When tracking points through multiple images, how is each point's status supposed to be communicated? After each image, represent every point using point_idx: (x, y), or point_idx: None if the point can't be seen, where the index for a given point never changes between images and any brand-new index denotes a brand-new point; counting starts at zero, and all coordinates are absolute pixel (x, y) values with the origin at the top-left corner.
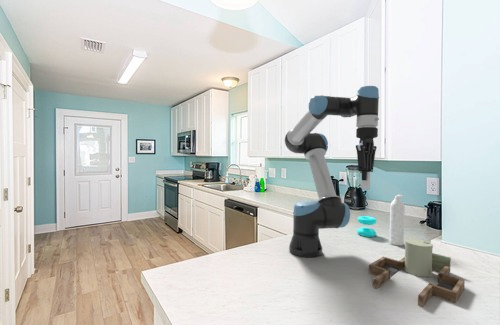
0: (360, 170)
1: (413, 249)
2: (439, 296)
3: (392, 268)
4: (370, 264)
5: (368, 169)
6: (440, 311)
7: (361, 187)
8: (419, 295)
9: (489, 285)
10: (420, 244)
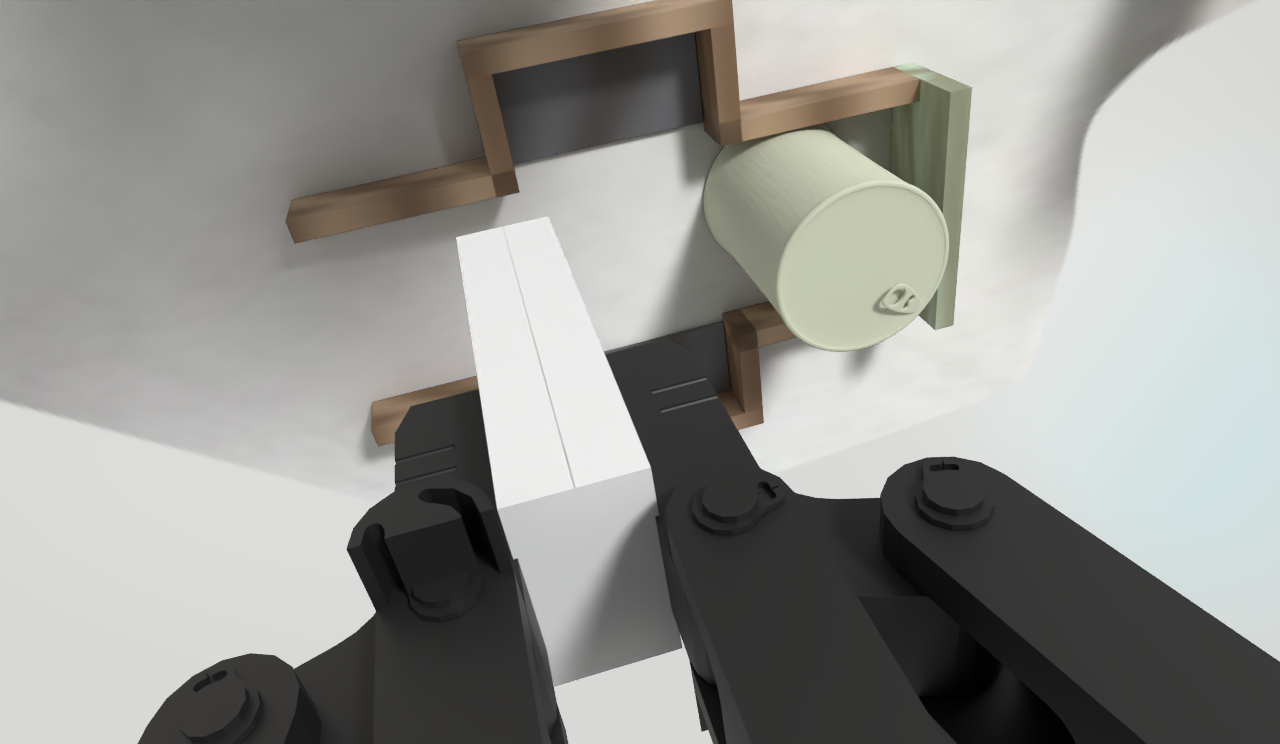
0: (374, 595)
1: (763, 269)
2: None
3: (671, 93)
4: (480, 52)
5: (700, 679)
6: None
7: (459, 255)
8: (375, 433)
9: (878, 421)
10: (825, 301)
